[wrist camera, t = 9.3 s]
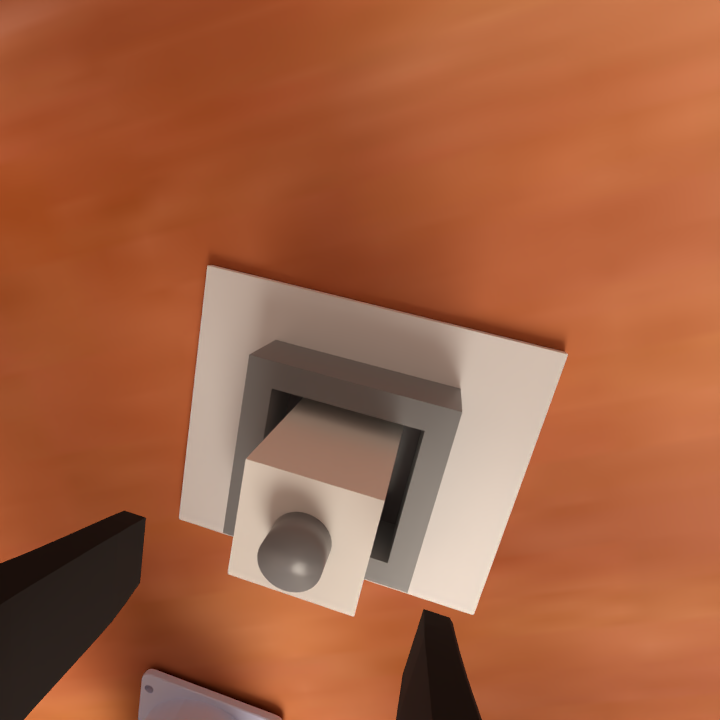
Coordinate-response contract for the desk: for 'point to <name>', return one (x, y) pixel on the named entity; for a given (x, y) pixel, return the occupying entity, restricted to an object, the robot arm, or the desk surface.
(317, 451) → the block
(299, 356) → the socket dock
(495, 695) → the desk surface
